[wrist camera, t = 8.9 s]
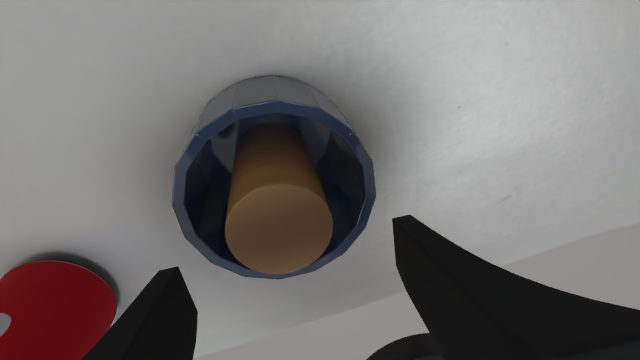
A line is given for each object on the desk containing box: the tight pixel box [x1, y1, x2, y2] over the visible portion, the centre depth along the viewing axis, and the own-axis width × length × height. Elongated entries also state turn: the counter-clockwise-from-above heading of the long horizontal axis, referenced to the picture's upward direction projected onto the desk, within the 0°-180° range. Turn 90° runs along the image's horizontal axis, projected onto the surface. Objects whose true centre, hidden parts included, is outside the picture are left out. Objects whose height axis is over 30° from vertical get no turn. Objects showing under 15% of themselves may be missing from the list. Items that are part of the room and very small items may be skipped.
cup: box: [172, 76, 376, 279], centre depth 18 cm, size 9×9×5 cm
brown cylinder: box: [225, 123, 333, 274], centre depth 17 cm, size 4×4×7 cm
